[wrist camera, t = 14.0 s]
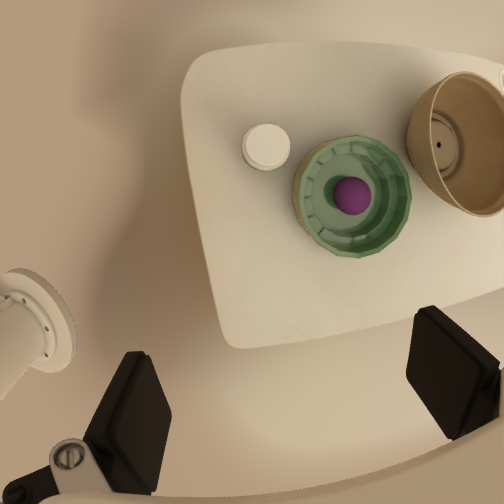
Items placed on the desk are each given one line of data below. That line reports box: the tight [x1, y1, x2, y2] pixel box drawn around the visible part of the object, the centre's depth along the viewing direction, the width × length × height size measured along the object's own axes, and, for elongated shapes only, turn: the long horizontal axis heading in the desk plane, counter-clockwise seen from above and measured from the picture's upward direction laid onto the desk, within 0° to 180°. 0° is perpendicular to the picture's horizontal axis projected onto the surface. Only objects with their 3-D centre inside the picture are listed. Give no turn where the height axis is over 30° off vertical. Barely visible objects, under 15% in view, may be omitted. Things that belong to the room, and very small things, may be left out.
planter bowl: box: [406, 72, 504, 217], centre depth 28 cm, size 16×16×11 cm
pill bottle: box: [241, 123, 290, 171], centre depth 30 cm, size 5×5×8 cm
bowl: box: [292, 135, 412, 258], centre depth 33 cm, size 13×13×5 cm
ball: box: [333, 177, 371, 215], centre depth 33 cm, size 4×4×4 cm
